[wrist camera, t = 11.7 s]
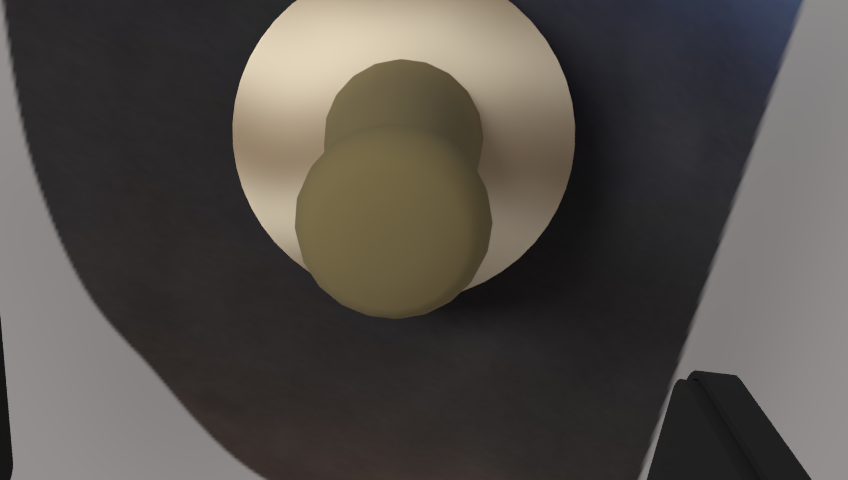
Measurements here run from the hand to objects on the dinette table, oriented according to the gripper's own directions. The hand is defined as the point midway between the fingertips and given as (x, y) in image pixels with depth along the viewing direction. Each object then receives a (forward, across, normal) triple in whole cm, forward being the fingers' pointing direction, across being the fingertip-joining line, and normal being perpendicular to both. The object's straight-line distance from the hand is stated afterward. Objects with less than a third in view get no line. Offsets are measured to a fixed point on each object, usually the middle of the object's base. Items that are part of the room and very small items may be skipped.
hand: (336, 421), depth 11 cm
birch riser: (+23, 0, +1) cm, 23 cm away
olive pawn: (+20, 0, +1) cm, 20 cm away
